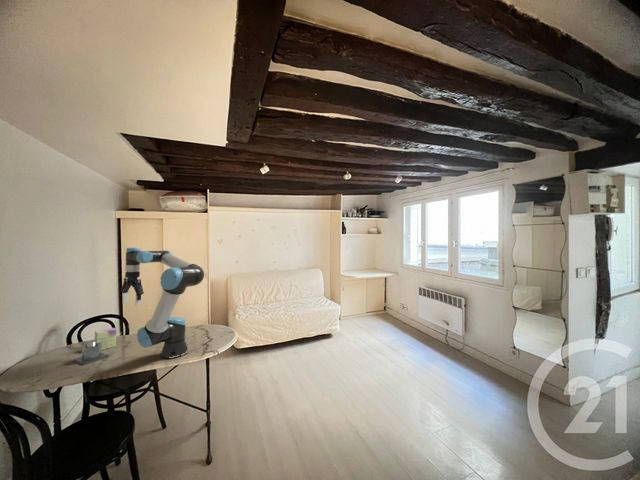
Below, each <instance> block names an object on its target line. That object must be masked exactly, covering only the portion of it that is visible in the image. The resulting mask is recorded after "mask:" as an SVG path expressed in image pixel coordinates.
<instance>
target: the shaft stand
mask: <svg viewBox="0 0 640 480" xmlns="http://www.w3.org/2000/svg"><path fill="white" fill-rule="evenodd" d="M86 343H87V344H86V345H87V347H94V346H96V341H95V340H90V341H88V342H86ZM108 357H109V354H106V353H103V352H101V355H100V356H99V357H98V358H95V359H91V360H82V356H78V357H76V358H73V359H72V361H73V362H75V363H77V364H79V365H82V366H86V365H90V364H92V363H94V362H98V361H101V360H103V359H107V358H108Z"/></svg>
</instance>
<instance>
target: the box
mask: <svg viewBox="0 0 640 480" xmlns="http://www.w3.org/2000/svg"><path fill="white" fill-rule="evenodd" d="M117 330H118V329H117V328H115V327H111V328H106V329H101V330H97V331H96V330H95V331H94V341H96V343H101V351H102V350H106V349H110V348H114V347H117V332H118V331H117Z"/></svg>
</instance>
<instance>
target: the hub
mask: <svg viewBox="0 0 640 480" xmlns="http://www.w3.org/2000/svg"><path fill="white" fill-rule="evenodd" d="M101 353H102V350H101V343H96V346H94V347H87V344H85V345H83V346H82V347H81V357H82V360H91V359H95V358H98V357H99V356H100V355H101Z"/></svg>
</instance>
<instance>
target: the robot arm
mask: <svg viewBox="0 0 640 480" xmlns="http://www.w3.org/2000/svg"><path fill="white" fill-rule="evenodd" d="M148 263H161V264H163V265H166V266H167V267H170V268H167V269H165V270H164V271H163V272H162V274H161V277H160V286H161V288H162V290H163V291H162V294H161V296H160V299H159V301H158V303H157V305H156V307H155V310H154V312H153V314H152V317H151V318H150V319H148V321H146V323H145V326H144V327H141V328H139V329H138V330H137V331H136V333H137V334H136V337H137V340H138V341H137V342H138V343H139V345H140V346H141V347H142V348H149V347H153V346H156V345H159V344H161V343H163V346H162V348H161V351H160V358H161V357H162V358H161V359H164V358H169V357H173V356H177V355H181V354H183V353H185V352H186V351H187V350H188V345H187V342H186V325H187V324H186V319H185V318H184V317H179V316H173V317H172V316H171V315H172V313H173V311H174V308H175V306H176V304H177V301H178V300H179V297H180V296H181V295H182V294H184V293H185V291H186V289H187V288H188V287H195V286H197V285H199V284H201V282H203V280H204V277H205V271H204V269H203V268H202V266H200V265H198V264H196V263H189V262H188V261H186V260H184V259H182V258H179V257H178V256H175V255H174V254H173V252H172V251H171V250H141V247H127V248H126V250H125V269H124V271H125V274H124V276H125V277H124V279H123V283H122V285H121V289H120V292H121V293H122V304H128V303H129V289H130V288H131V287H132V288H133V290H134V292H135V303H134V306H135V307H137V306H141V305H142V304H141V303H142V301H141V300H142V295H144V289H143V285H142V279H140V278H139V277H140V276H141V275H140V273H141V271H140V270H141V264H148ZM188 351H189V350H188Z"/></svg>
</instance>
